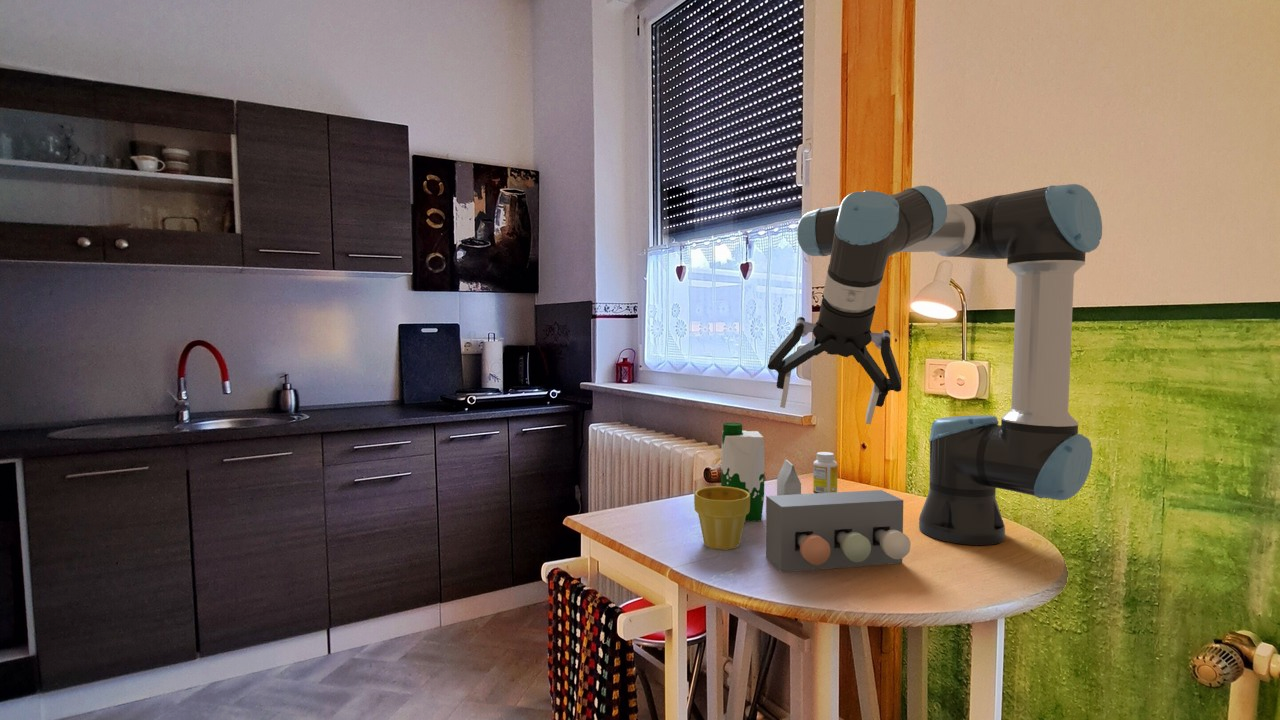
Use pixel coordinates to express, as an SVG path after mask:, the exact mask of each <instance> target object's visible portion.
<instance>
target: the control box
mask: <svg viewBox="0 0 1280 720" xmlns="http://www.w3.org/2000/svg"><path fill="white" fill-rule="evenodd" d="M765 499H766V501H765V502H766V503H765V508H766V509H765V558H766V559H767V560H768V561H769V562H770V563H771V564H772V565H773V566H774V567H775V568H776V569H777V570H778V571H779V572H780V573H786V572H790V573H791V572H799V571H814V570H828V569H842V568H857V567H858V568H859V567H868V566H869V567H870V566H882V565H883V566H884V565H886V566H887V565H896V564H903V558H902V559H893V558H891V557H889V556H888V555H886V554H885V553H884V552H883V551H882V550H881V548H880V543H879V542H878V541H876V540H875V539H874V537H873V533H874V531H875V530H876V529H879V528H880V529H883V530H885V531H888V530H891V529H895V530H898V531H900V532H902V533H903V534H904V531H903V530H904V499H902V498H900V497H897V496H895V495H893V494H891V493H890V492H889V493H888V492H887V491H885V490H882V489H878V490H877V489H875V490H857V491H856V490H855V491H837V492H833V493H801V494H794V495H777V494H776V495H775V494H774V495H766V497H765ZM839 531H844V532H846V533H847V534H848V533H850V532H858V533H860V534H861V535H863V536H864V537H866V538H867V539H868V540H869V542H870V544H871V551H870V554H869V556H868V557H867V558H866V559H865V560H864V561H861V562H853V561H851V560H850V559H848V558H847V557H846V556H844V555H843V553H842V552H841V548H840V544H839V543H837V542H836V540H835V536H836V534H837V532H839ZM801 533H804V534H806V535H812V534H815V535H819V536H820V537H822V538H823V539H825V540H826V541H827V542H828V543H829V545H830V556H829V558H828V559H827V561H826V562H824V563H823V564H820V565H813V564H811V563H809V562H808V561H807V560H806V559H804V558H803V557H802V555H801V553H800V546H799V545H798V544H797V542H796V538H797V536H798V535H799V534H801Z"/></svg>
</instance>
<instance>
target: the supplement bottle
mask: <svg viewBox="0 0 1280 720" xmlns="http://www.w3.org/2000/svg"><path fill="white" fill-rule="evenodd" d="M812 466H813V469H812V471H813V475H812V476H813V479H812V480H813V482H812V485H813V489H812V490H813V491H812V492H813V493H812V494H814V493H833V492H838V462H837V461H836V460H835V454H834V453H833V452H830V451H818V452H817V453H816V459H815V460H814V461H813V465H812Z"/></svg>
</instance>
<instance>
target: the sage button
mask: <svg viewBox="0 0 1280 720" xmlns="http://www.w3.org/2000/svg"><path fill="white" fill-rule="evenodd" d="M835 540H836V542H837V543H839V544H840V548H841V552H842V553H843V555H844V556H846V557H847V558H848V559H850V560H851V561H853V562H861V561H864V560H865V559H866V558H867V557H868V556H869V554H870V551H871V544H870V542H869V540H868V539H867V538H866V537H864V536H863V535H861V534H860V533H858V532H850V533H848V534H847V533H846V532H844V531H839V532H837V534H836V536H835Z"/></svg>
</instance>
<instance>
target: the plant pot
mask: <svg viewBox="0 0 1280 720" xmlns="http://www.w3.org/2000/svg"><path fill="white" fill-rule="evenodd" d="M693 502H694V503H693V504H694V505H693V507H694V511H695V512H696V513H697V514H698V518H699V519H698V520H699V524H700V528H701V529H700V530H701V535H702V539H703V540H702V541H703V544H704V545H705V547H708V548H710V549H714V550H721V551H727V550H733V549H736V548H738V547H739V545H740V543H741V537H742V535H743V530H744V526H745V522H746V521H745V518H746V515H747V514H748V513H749V511H750V494H749V492H747V491H745V490H743V489H739V488H734V487H726V486H721V485H719V486H718V485H716V486H715V485H713V486H705V487H702V488H699V489H697V490H696V491H695V492H694V501H693Z"/></svg>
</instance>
